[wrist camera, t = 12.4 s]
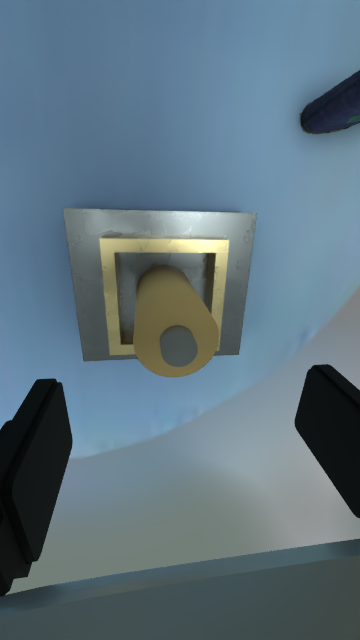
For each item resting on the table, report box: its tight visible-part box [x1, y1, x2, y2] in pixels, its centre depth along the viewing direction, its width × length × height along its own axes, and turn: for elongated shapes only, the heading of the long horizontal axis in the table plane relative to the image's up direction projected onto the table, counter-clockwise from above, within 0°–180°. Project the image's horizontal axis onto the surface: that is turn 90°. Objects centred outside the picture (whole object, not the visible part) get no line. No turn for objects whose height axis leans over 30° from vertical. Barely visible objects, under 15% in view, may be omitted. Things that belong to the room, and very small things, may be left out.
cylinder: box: [133, 265, 219, 377], centre depth 19 cm, size 5×5×11 cm
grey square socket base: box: [63, 208, 257, 361], centre depth 25 cm, size 14×16×6 cm
